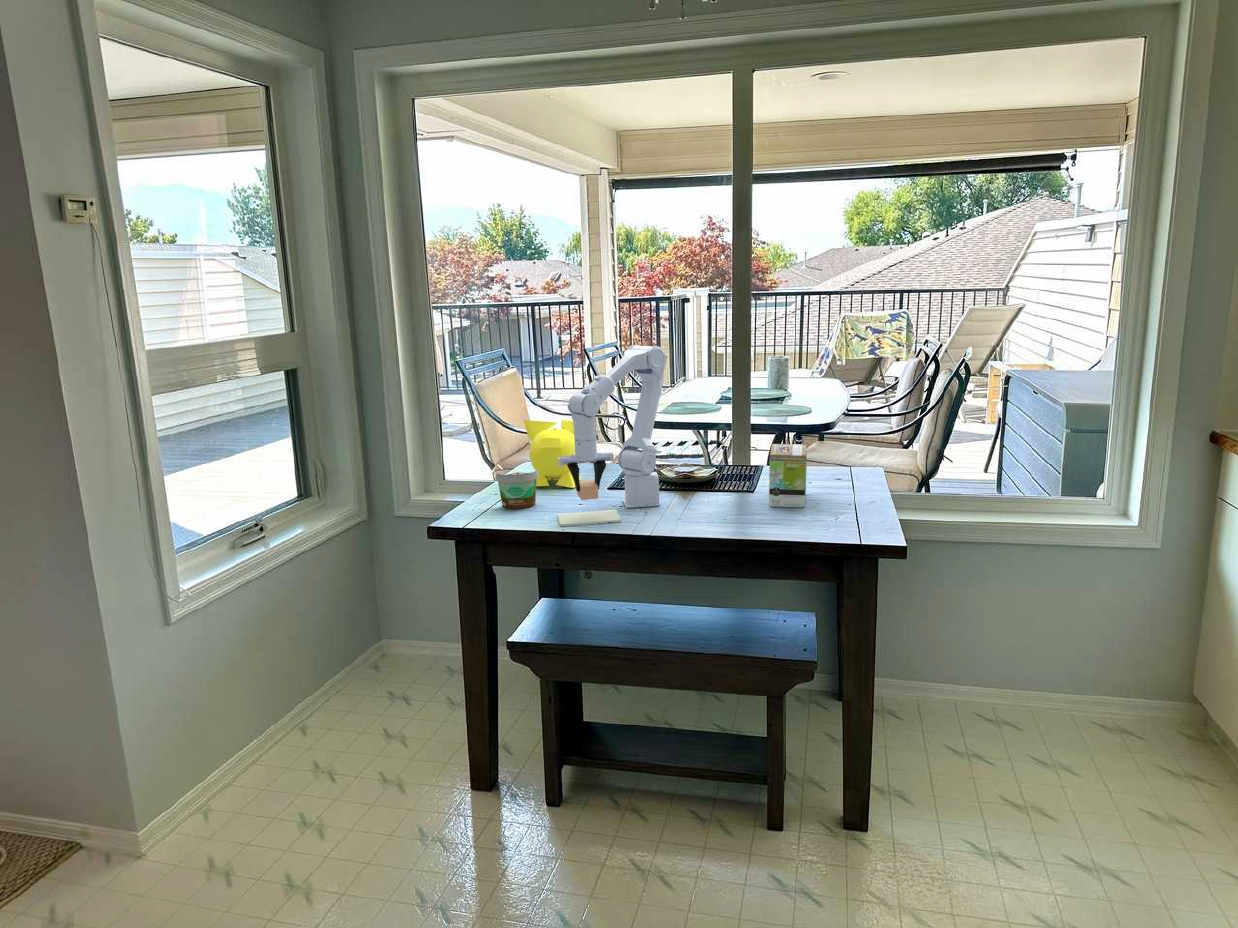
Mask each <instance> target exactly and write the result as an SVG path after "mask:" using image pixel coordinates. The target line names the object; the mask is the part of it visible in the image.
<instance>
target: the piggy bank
mask: <svg viewBox="0 0 1238 928" xmlns="http://www.w3.org/2000/svg"><path fill="white" fill-rule="evenodd" d="M523 422H524V426H525V431H526V433H527V437H528V438H527V439H528V440H530V441H531V443H530V450H529V456H528V457H529V460H530V463H531V466H532V467H533V469H534V470H535V471H536V469H537V471H538V475H539V478H537V479H536V487H549V486H550V484H549V482H550V481H551V480H558V481H557V482H556V483H555V485H556V486H559V487H561V486H562V487H566V488H571V489H574V488H576V486H575V483H574V479H573V477H572V474H571V472H570V470H569V468H568V466H567V465H564V466H559V464H558V457H565V456H571V455H575V443H574V424H573V420H565V419H561V428H557V427H554V428H552V427H553V426H555V425H557V424H558V422H554V421H542V420H540V421H539V420H529V419H527V420H526V419H523ZM577 465H578V466H579V465H580V464H577ZM581 478H582V477H581V476H580V475H579V481H582V479H581Z"/></svg>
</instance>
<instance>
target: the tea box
mask: <svg viewBox="0 0 1238 928" xmlns="http://www.w3.org/2000/svg"><path fill="white" fill-rule="evenodd" d="M769 453H770V454H769V470H768V471H769V474H768V475H769V476H768V477H769V478H768V479H769V481H768V483H769V484H768V506H769V507H773V508H774V507H776V508H805V507H806V496H807V495H806V492H807V467H808V466H807V461H808V459H807V457H808V456H807V453H808V452H807V444H802V443H801V444H798V443H797V444H795V443H794V444H791V443H789V444H787V443H772V444H771V448H770V452H769Z"/></svg>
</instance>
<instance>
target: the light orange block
mask: <svg viewBox="0 0 1238 928" xmlns="http://www.w3.org/2000/svg"><path fill="white" fill-rule="evenodd" d="M579 483H580V491H577V490H576V495H577V497H579V498H580V500H581V501H586V500H597V499H599V489H598V485H597V484H596V483H595V480H594V479H589V480H580V481H579Z"/></svg>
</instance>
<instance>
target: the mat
mask: <svg viewBox="0 0 1238 928" xmlns="http://www.w3.org/2000/svg"><path fill="white" fill-rule="evenodd" d="M557 519H558V523H559V527H561V528H562V527H573V526H587V525H598V523H601V524H609V523H608V522H615V523H622V518H621V516H620V514H619V513H618V510H617V509H606V510H605V509H604V510H602V509H601V510H590V511H589V510H588V511H578V512H565V513H564V512H562V513H557Z"/></svg>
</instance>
